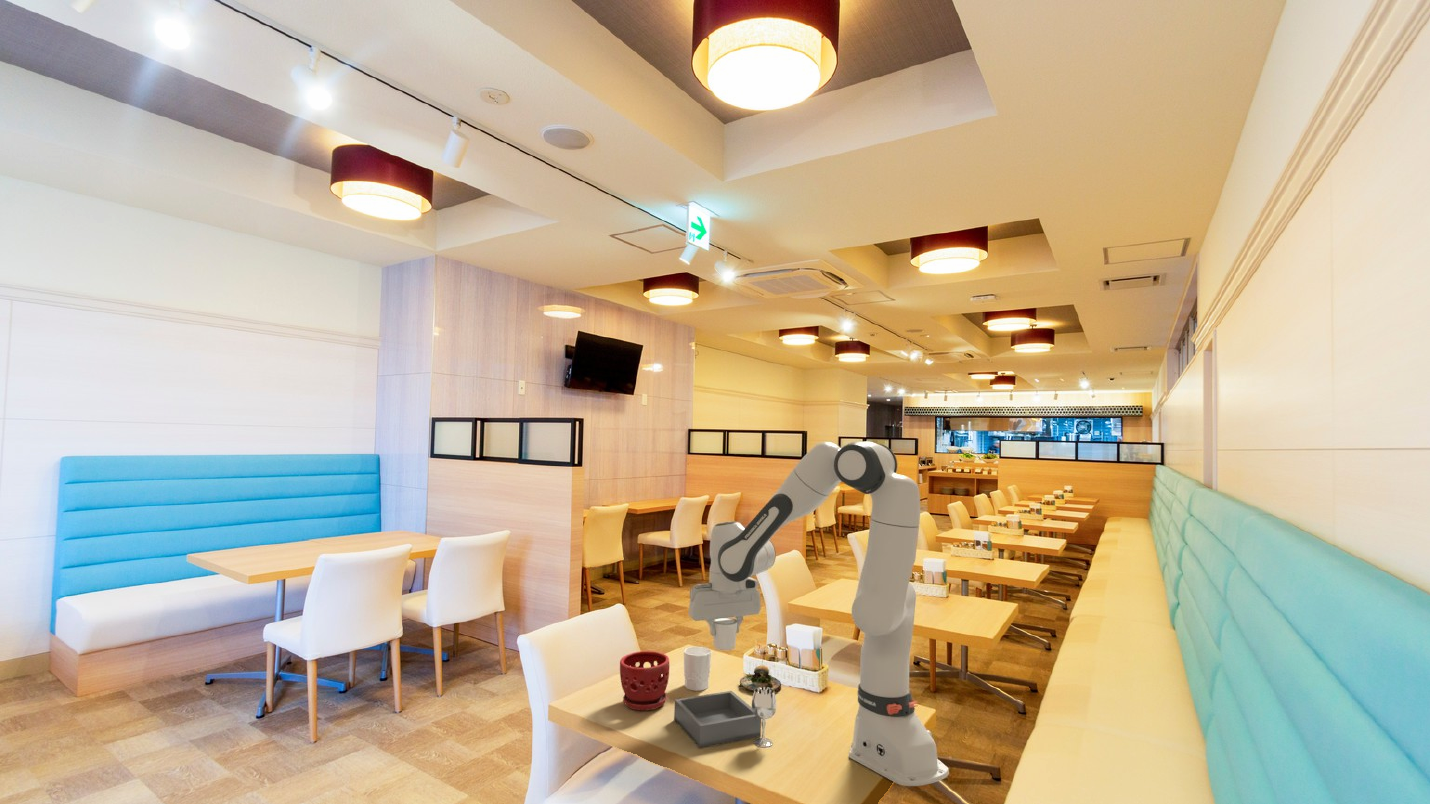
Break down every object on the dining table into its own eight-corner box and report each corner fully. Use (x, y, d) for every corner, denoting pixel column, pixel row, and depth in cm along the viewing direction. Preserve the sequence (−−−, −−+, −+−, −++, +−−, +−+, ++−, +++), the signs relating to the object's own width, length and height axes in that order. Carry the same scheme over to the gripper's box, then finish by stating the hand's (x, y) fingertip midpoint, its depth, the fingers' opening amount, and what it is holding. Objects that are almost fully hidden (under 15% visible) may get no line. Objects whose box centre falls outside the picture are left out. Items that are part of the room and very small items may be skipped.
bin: (760, 736, 156) (761, 715, 156) (699, 748, 149) (700, 726, 149) (730, 710, 170) (731, 690, 170) (674, 719, 163) (674, 699, 164)
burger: (731, 689, 185) (732, 662, 185) (753, 677, 195) (753, 651, 195) (768, 699, 178) (768, 672, 179) (788, 686, 188) (789, 660, 188)
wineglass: (768, 750, 149) (769, 697, 149) (746, 744, 152) (747, 691, 152) (779, 741, 154) (780, 689, 154) (758, 734, 157) (759, 684, 157)
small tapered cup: (735, 652, 171) (735, 625, 171) (709, 650, 172) (710, 623, 172) (738, 643, 177) (739, 617, 178) (713, 642, 179) (714, 616, 179)
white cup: (710, 692, 182) (710, 656, 182) (681, 691, 182) (683, 655, 182) (710, 681, 190) (711, 646, 190) (683, 680, 190) (684, 646, 190)
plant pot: (632, 691, 181) (634, 647, 182) (676, 699, 176) (677, 654, 177) (609, 709, 169) (611, 662, 169) (655, 718, 164) (656, 670, 165)
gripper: (694, 587, 168) (693, 641, 168) (763, 581, 177) (763, 632, 176) (685, 582, 174) (684, 634, 173) (753, 576, 183) (752, 626, 182)
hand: (724, 633), depth 175 cm, fingers closed on small tapered cup, 5 cm apart
